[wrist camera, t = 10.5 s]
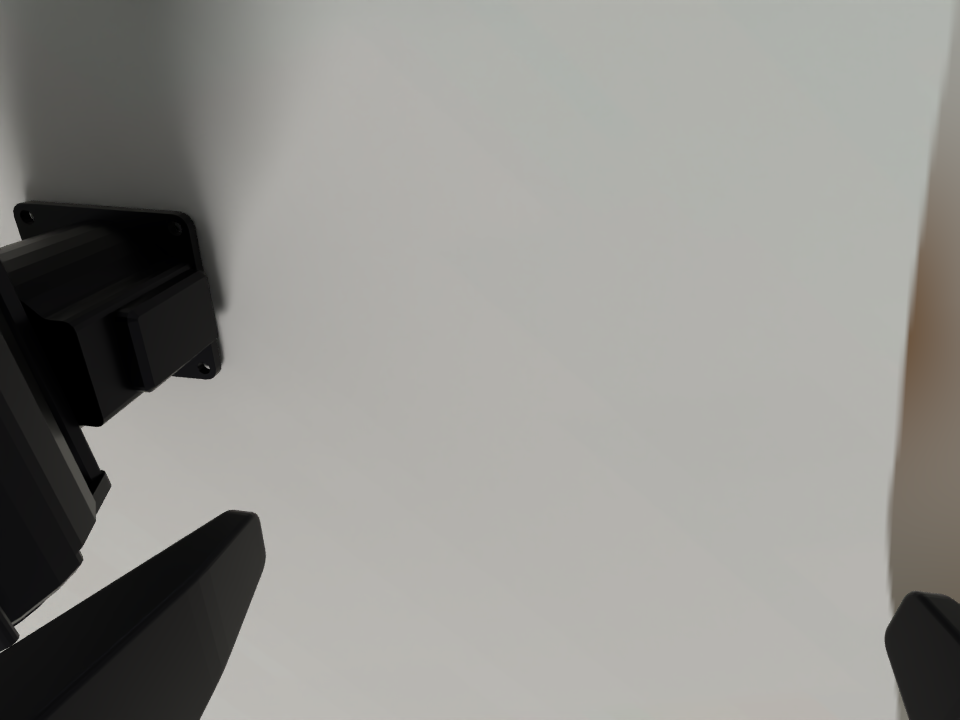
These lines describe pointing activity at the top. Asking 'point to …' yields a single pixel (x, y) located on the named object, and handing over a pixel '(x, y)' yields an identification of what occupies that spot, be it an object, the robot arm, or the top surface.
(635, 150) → the top surface
